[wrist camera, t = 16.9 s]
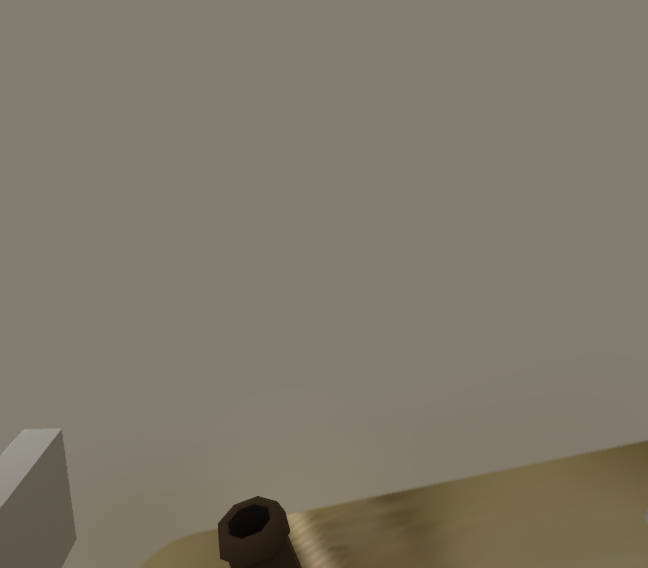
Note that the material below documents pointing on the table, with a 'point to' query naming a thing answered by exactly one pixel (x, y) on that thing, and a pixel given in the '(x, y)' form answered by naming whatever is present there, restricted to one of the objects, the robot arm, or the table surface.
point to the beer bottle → (256, 536)
